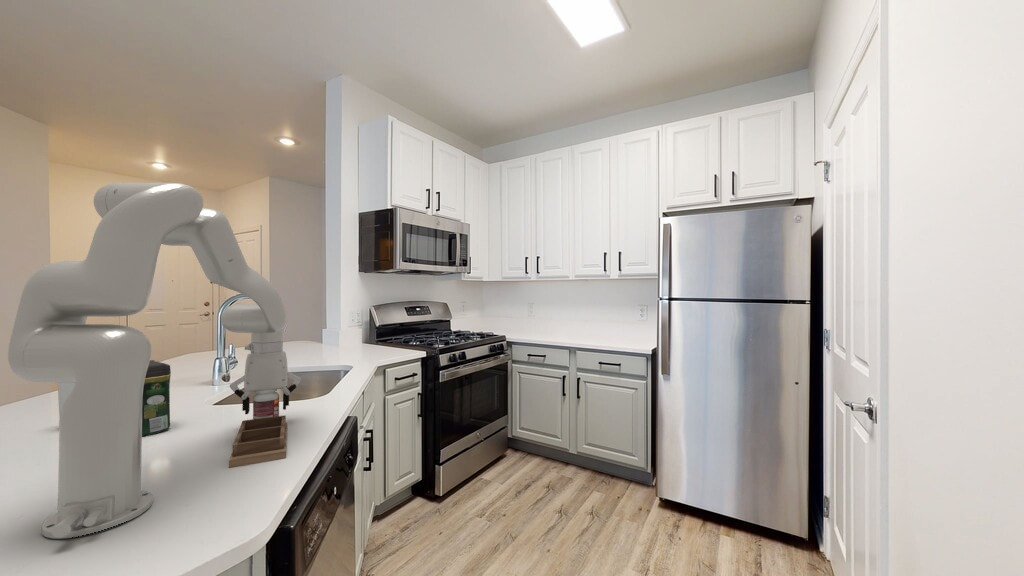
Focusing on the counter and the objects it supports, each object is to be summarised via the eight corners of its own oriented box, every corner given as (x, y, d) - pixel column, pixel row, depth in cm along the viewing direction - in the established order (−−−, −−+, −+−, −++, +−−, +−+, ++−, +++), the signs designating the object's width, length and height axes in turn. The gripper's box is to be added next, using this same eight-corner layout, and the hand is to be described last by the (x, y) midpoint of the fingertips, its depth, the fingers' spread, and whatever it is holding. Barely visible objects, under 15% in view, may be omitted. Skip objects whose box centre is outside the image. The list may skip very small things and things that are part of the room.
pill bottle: (279, 426, 108) (280, 385, 108) (252, 430, 105) (253, 388, 105) (278, 420, 114) (278, 381, 114) (252, 424, 110) (253, 383, 110)
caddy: (285, 458, 88) (285, 440, 88) (228, 467, 83) (229, 448, 83) (287, 427, 107) (287, 413, 107) (241, 434, 102) (241, 418, 102)
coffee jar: (121, 432, 103) (122, 361, 103) (160, 423, 110) (161, 357, 110) (134, 439, 98) (136, 365, 98) (174, 430, 105) (175, 360, 105)
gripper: (226, 352, 102) (225, 419, 102) (302, 347, 110) (301, 410, 110) (230, 348, 109) (230, 411, 108) (302, 344, 117) (301, 403, 117)
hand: (266, 410), depth 109 cm, fingers open, 8 cm apart
